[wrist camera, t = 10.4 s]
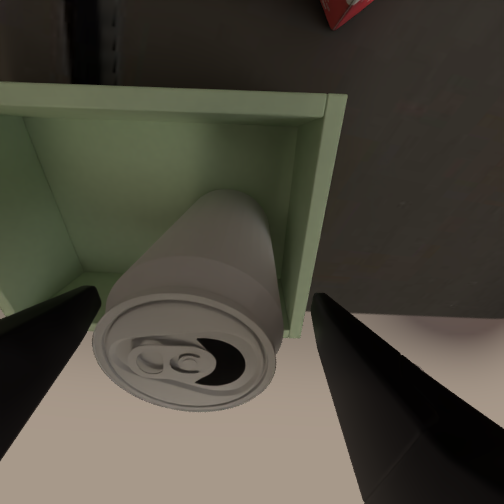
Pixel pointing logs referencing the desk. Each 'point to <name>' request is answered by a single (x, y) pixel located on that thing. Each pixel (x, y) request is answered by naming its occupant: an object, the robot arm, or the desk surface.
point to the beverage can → (197, 311)
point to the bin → (153, 179)
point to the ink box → (342, 10)
